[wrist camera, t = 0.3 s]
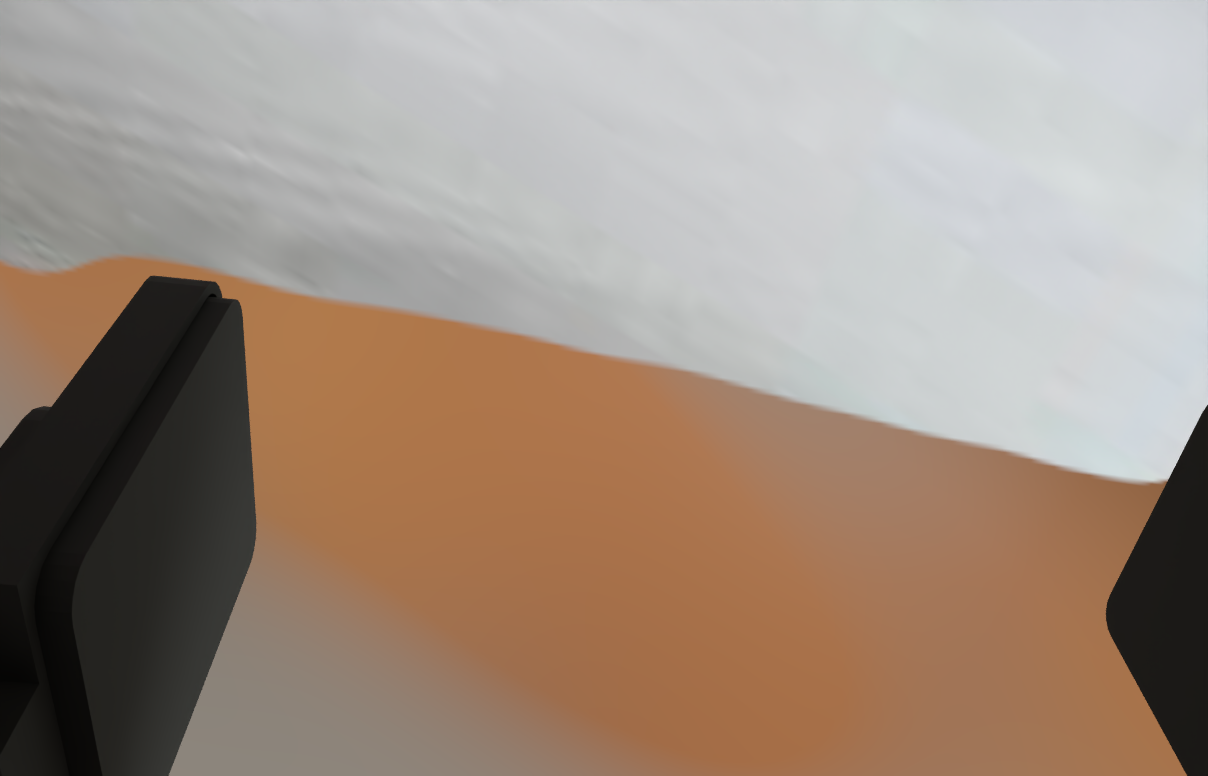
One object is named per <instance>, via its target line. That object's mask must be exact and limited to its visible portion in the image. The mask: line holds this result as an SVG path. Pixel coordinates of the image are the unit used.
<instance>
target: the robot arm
mask: <svg viewBox="0 0 1208 776" xmlns="http://www.w3.org/2000/svg"><path fill="white" fill-rule="evenodd" d="M255 539H256V514H255V497H254V482H253V468H252V453H251V438H250V422H249V406H248V391H247V376H246V361H245V346H244V331H243V317H242V309H241V306H240V303H239V301H238V300H235V299H225V298H222V294H221V291H220V288H219V286H218V284H217V283H216V282H211V281H202V280H191V279H181V278H171V277H162V276H150V277H149V278H148V279H147V280H146V281H145V282H144V283H143V285H142V286H141V287H140V289H139V290H138V292H137V293H136V294H135V295H134V297H133V298H132V299H131V301H130V302H129V304H128V305H127V306H126V308H125V309H124V310H123V312H122V313H121V314H120V316H119V317H118V318H117V320H116V321H115V322H114V324H113V325H112V327H111V328H110V329H109V330H108V332H107V333H106V335H105V336H104V337H103V339H102V340H101V341H100V343H99V344H98V345H97V346H96V348H95V349H94V351H93V352H92V354H91V355H90V356H89V357H88V359H87V360H86V361H85V363H84V364H83V365H82V367H81V368H80V369H79V371H78V372H77V374H76V375H75V376H74V378H73V379H72V380H71V382H70V383H69V384H68V385H67V387H66V388H65V390H64V391H63V392H62V394H61V395H60V396H59V398H58V399H57V400H56V402H55V403H54V404H53V406H52V407H46V406H43V407H39V408H36V409H33V410H32V411H31V412H30V413H28V414H27V415H26V416H25V417H24V418H23V419H22V420H21V422H20V423H19V424H18V426H17V427H16V428H15V429H14V431H13V432H12V433H11V435H10V436H9V438H8V439H7V440H6V441H5V443H4V444H3V445H2V446H1V448H0V776H168V775H169V773H170V770H171V767H172V765H173V763H174V760H175V757H176V755H177V752H178V749H179V747H180V744H181V742H182V739H183V737H184V734H185V731H186V729H187V726H188V724H189V721H190V719H191V716H192V713H193V711H194V708H195V706H196V703H197V700H198V698H199V695H200V693H201V690H202V687H203V685H204V682H205V680H206V677H207V674H208V672H209V669H210V667H211V664H212V662H213V659H214V656H215V654H216V651H217V649H218V646H219V643H220V641H221V638H222V636H223V633H224V630H225V628H226V625H227V623H228V620H229V617H230V615H231V612H232V610H233V607H234V605H235V602H236V599H237V597H238V594H239V592H240V589H241V586H242V584H243V581H244V579H245V576H246V574H247V571H248V568H249V565H250V563H251V560H252V556H253V551H254V546H255ZM1106 621H1107V626H1108V630H1109V632H1110V635H1111V637H1112V639H1113V641H1114V642H1115V644H1116V646H1117V648H1118V650H1119V652H1120V653H1121V655H1122V657H1123V659H1124V661H1125V663H1126V664H1127V666H1128V668H1129V670H1130V672H1131V674H1132V675H1133V677H1134V679H1135V681H1136V683H1137V685H1138V686H1139V688H1140V690H1141V692H1142V694H1143V696H1144V697H1145V699H1146V701H1147V703H1148V705H1149V707H1150V708H1151V710H1152V712H1153V714H1154V715H1155V717H1156V719H1157V721H1158V723H1159V725H1160V727H1161V729H1162V730H1163V732H1164V734H1165V736H1166V737H1167V740H1168V741H1169V743H1170V745H1171V746H1172V749H1173V751H1174V752H1175V754H1176V756H1177V758H1178V759H1179V761H1180V763H1181V765H1182V767H1183V769H1184V771H1185V772H1186V774H1187V776H1208V405H1207V407H1206V408H1205V410H1204V411H1203V413H1202V414H1201V416H1200V418H1199V420H1198V422H1197V424H1196V426H1195V428H1194V430H1193V432H1192V434H1191V436H1190V438H1189V440H1188V442H1187V444H1186V446H1185V448H1184V450H1183V452H1182V454H1181V456H1180V458H1179V460H1178V462H1177V464H1176V466H1175V468H1174V470H1173V472H1172V474H1171V476H1170V478H1169V480H1168V482H1167V484H1166V486H1165V488H1164V490H1163V491H1162V493H1161V495H1160V497H1159V499H1158V501H1157V503H1156V505H1155V507H1154V509H1153V511H1152V513H1151V515H1150V517H1149V519H1148V521H1147V523H1146V525H1145V527H1144V529H1143V531H1142V533H1141V535H1140V537H1139V539H1138V541H1137V543H1136V545H1135V547H1134V549H1133V551H1132V553H1131V555H1130V557H1129V559H1128V561H1127V563H1126V564H1125V567H1124V569H1123V571H1122V572H1121V574H1120V576H1119V578H1118V580H1117V582H1116V584H1115V586H1114V588H1113V590H1112V592H1111V594H1110V597H1109V599H1108V602H1107V608H1106Z"/></svg>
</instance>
